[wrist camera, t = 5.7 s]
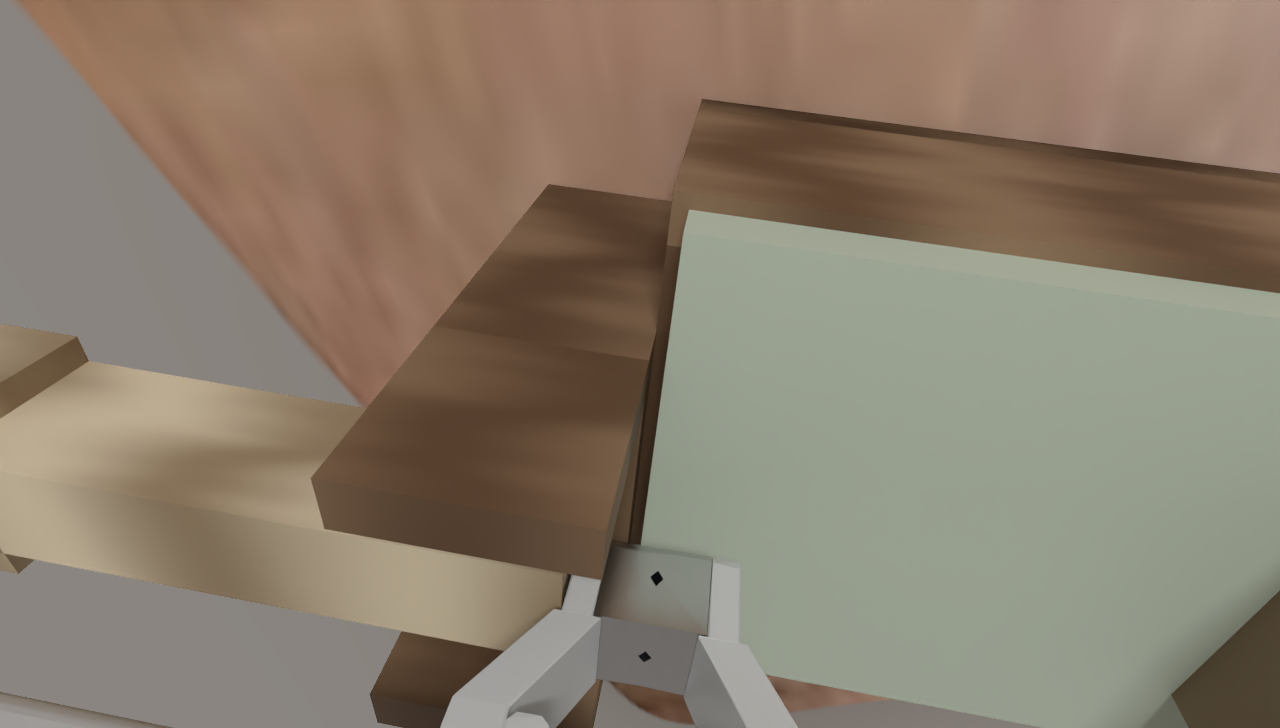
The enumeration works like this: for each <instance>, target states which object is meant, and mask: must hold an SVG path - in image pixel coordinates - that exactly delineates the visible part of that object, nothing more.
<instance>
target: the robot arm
mask: <svg viewBox="0 0 1280 728" xmlns="http://www.w3.org/2000/svg"><path fill="white" fill-rule="evenodd" d="M740 599H741V566H740V563H739V562H737V561H731V560H725V559H720V558H714V557H712V558H711V556H706V555H699V554H693V553H687V552H681V551H675V550H669V549H662V548H659V549H657V548H652V547H647V546H643V545H638V544H633V543H628V542H623V541H618V540H613V539H612V541H611V545H610V549H609V553H608V557H607V562H606V566H605V570H604V574H603V579H602V580H598V579H592V578H587V577H581V576H576V575H571V578H570V582H569V585H568V589H567V592H566V596H565V599H564V603H563V606H562V610H559V609H553V610H552V611H550V612H549V613H548V614H547V615H546V616H545V617H543V618H542V619H541V620H540V621H539V622H538V623H537V624H535V625H534V626H533V627H532V628H531V629H530V630H528V631H527V632H526V633H525V634H524V635H523V636H521V637H520V638H519V639H518V640H517V641H516V642H514V643H513V644H512V645H511V646H510V647H509V648H508V649H506V650H505V651H504V652H503V653H502V654H501V655H499V656H498V657H497V658H496V659H495V660H494V661H492V662H491V663H490V664H489V665H488V666H487V667H486V668H484V669H483V670H482V671H481V672H480V673H479V674H477V675H476V676H475V677H474V678H473V679H472V680H470V681H469V682H468V683H467V684H466V685H465V686H464V687H462V688H461V689H460V690H459V691H458V692H457V693H455V694H454V695H453V696H452V699H451V701H450V704H449V706H448V709H447V711H446V714H445V716H444V719H443V721H442V724H441V726H440V728H556V727H557V726H558V725H559V724H560V722H561V721H562V720H563V719H564V718H565V717H566V715H567V714H568V713H569V712H570V711H571V710H572V709H573V707H574V706H575V705H576V704H577V703H578V702H579V700H580V699H581V698H582V697H583V696H584V695H585V694H586V692H587V691H588V690H589V689H590V688H591V687H592V685H593V684H594V683H595V682H596V679H600V680H607V681H613V682H619V683H625V684H631V685H637V686H642V687H647V688H651V689H656V690H661V691H665V692H670V693H674V694H679V695H683V696H684V700H685V702H686V705H687V707H688V710H689V712H690V714H691V717H692V719H693V722H694V724H695V727H696V728H798V727H797V725H796V724H795V722H794V720H793V719H792V717H791V715H790V714H789V712H788V710H787V709H786V707H785V705H784V704H783V702H782V700H781V699H780V697H779V695H778V694H777V692H776V690H775V689H774V687H773V685H772V684H771V682H770V680H769V679H768V677H767V675H766V674H765V672H764V670H763V669H762V667H761V666H760V664H759V662H758V661H757V659H756V657H755V656H754V654H753V652H752V651H751V649H750V647H749V646H748V645H747V644H743V643H740ZM0 728H171V727H167V726H162V725H157V724H152V723H148V722H143V721H138V720H133V719H128V718H123V717H119V716H114V715H109V714H104V713H99V712H94V711H89V710H84V709H80V708H74V707H70V706H65V705H60V704H55V703H51V702H46V701H41V700H36V699H32V698H27V697H22V696H17V695H12V694H7V693H3V692H0Z"/></svg>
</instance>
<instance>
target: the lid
mask: <svg viewBox="0 0 1280 728" xmlns="http://www.w3.org/2000/svg"><path fill="white" fill-rule="evenodd" d="M641 545H643V546H647V547H652V548H657V549H659V548H662V549H669V550H675V551H681V552H687V553H693V554H699V555H706V556H711V558H712V557H714V558H720V559H725V560H731V561H737V562H739V563H740V566H741V599H740V643H743V644H747V645H748V646H749V647H750V649H751V651H752V652H753V654H754V656H755V657H756V659H757V661H758V662H759V664H760V666H761V667H762V669H763V670H764V672H765V674H766V675H771V676H776V677H781V678H786V679H791V680H797V681H802V682H807V683H812V684H817V685H823V686H828V687H833V688H838V689H843V690H849V691H854V692H859V693H864V694H870V695H875V696H880V697H885V698H890V699H896V700H901V701H906V702H911V703H917V704H922V705H927V706H932V707H937V708H943V709H948V710H953V711H959V712H964V713H969V714H974V715H979V716H984V717H989V718H995V719H1000V720H1006V721H1010V722H1015V723H1021V724H1026V725H1031V726H1036V727H1041V728H1280V293H1274V292H1266V291H1259V290H1252V289H1245V288H1238V287H1231V286H1224V285H1217V284H1210V283H1203V282H1196V281H1189V280H1182V279H1175V278H1168V277H1161V276H1154V275H1147V274H1140V273H1133V272H1126V271H1119V270H1112V269H1104V268H1097V267H1090V266H1083V265H1076V264H1069V263H1062V262H1055V261H1048V260H1041V259H1034V258H1027V257H1020V256H1013V255H1006V254H999V253H992V252H985V251H978V250H971V249H964V248H957V247H949V246H942V245H935V244H928V243H921V242H914V241H907V240H900V239H893V238H886V237H879V236H872V235H865V234H858V233H851V232H844V231H837V230H830V229H823V228H816V227H809V226H802V225H795V224H787V223H780V222H773V221H766V220H759V219H752V218H745V217H738V216H731V215H724V214H717V213H710V212H703V211H696V210H689V212H688V216H687V220H686V224H685V228H684V233H683V240H682V247H681V254H680V262H679V269H678V276H677V284H676V291H675V298H674V306H673V313H672V320H671V327H670V335H669V342H668V349H667V357H666V364H665V371H664V378H663V386H662V393H661V400H660V408H659V415H658V422H657V430H656V437H655V444H654V451H653V459H652V466H651V473H650V481H649V488H648V495H647V503H646V510H645V517H644V524H643V532H642V539H641Z"/></svg>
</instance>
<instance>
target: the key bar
mask: <svg viewBox="0 0 1280 728" xmlns="http://www.w3.org/2000/svg"><path fill="white" fill-rule="evenodd" d="M366 409H367V408H361V407H355V406H349V405H343V404H337V403H332V402H326V401H320V400H314V399H308V398H302V397H296V396H290V395H285V394H279V393H273V392H267V391H260V390H255V389H249V388H243V387H238V386H231V385H226V384H220V383H213V382H208V381H202V380H196V379H190V378H185V377H179V376H173V375H167V374H161V373H155V372H149V371H144V370H137V369H131V368H126V367H120V366H114V365H108V364H102V363H96V362H90V361H89V360H88V358H87V356H86V354H85V352H84V350H83V348H82V346H81V344H80V342H79V340H78V338H77V337H76V336H71V335H64V334H59V333H53V332H47V331H41V330H35V329H29V328H23V327H17V326H11V325H5V324H3V325H2V326H0V570H2V571H7V572H12V573H17V574H19V573H20V572H21V571H22V570H23V569H24V568H26V567H27V566H28V565H29V564H30V563H31V562H32V561H34V560H40V561H45V562H50V563H55V564H60V565H66V566H71V567H76V568H81V569H86V570H92V571H97V572H101V573H107V574H112V575H117V576H122V577H128V578H132V579H138V580H142V581H148V582H153V583H158V584H163V585H169V586H174V587H178V588H183V589H189V590H194V591H199V592H204V593H209V594H215V595H220V596H225V597H230V598H235V599H240V600H245V601H250V602H255V603H260V604H266V605H271V606H276V607H281V608H286V609H292V610H296V611H302V612H307V613H312V614H317V615H322V616H327V617H332V618H338V619H342V620H348V621H353V622H358V623H363V624H368V625H373V626H379V627H384V628H389V629H394V630H399V631H404V632H409V633H414V634H419V635H425V636H430V637H435V638H440V639H445V640H450V641H455V642H460V643H466V644H471V645H476V646H481V647H486V648H491V649H496V650H502V651H505V650H506V649H508V648H509V647H510V646H511V645H512V644H513V643H514V642H516V641H517V640H518V639H519V638H520V637H521V636H523V635H524V634H525V633H526V632H527V631H528V630H530V629H531V628H532V627H533V626H534V625H535V624H537V623H538V622H539V621H540V620H541V619H542V618H543V617H545V616H546V615H547V614H548V613H549V612H550V611H552V610H553V609H559V610H562V606H563V603H564V599H565V596H566V592H567V589H568V585H569V582H570V578H571V575H570V574H565V573H560V572H554V571H549V570H543V569H538V568H533V567H527V566H522V565H516V564H511V563H506V562H500V561H495V560H489V559H484V558H479V557H473V556H468V555H462V554H457V553H452V552H446V551H441V550H435V549H430V548H424V547H419V546H414V545H408V544H403V543H397V542H392V541H387V540H381V539H376V538H370V537H365V536H360V535H354V534H349V533H343V532H338V531H333V530H327V529H324V525H323V522H322V518H321V514H320V511H319V507H318V503H317V500H316V496H315V493H314V489H313V485H312V482H311V477H312V476H313V474H314V473H315V472H316V471H317V470H318V468H319V467H320V466H321V465H322V463H323V462H324V461H325V460H326V458H327V457H328V456H329V455H330V454H331V452H332V451H333V450H334V449H335V447H336V446H337V445H338V444H339V442H340V441H341V440H342V439H343V437H344V436H345V435H346V434H347V433H348V431H349V430H350V429H351V428H352V426H353V425H354V424H355V423H356V421H357V420H358V419H359V418H360V417H361V415H362V414H363V413H364V412H365V410H366Z"/></svg>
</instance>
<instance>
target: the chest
mask: <svg viewBox="0 0 1280 728" xmlns="http://www.w3.org/2000/svg"><path fill="white" fill-rule="evenodd" d="M689 210H696V211H703V212H710V213H717V214H724V215H731V216H738V217H745V218H752V219H759V220H766V221H773V222H780V223H787V224H795V225H802V226H809V227H816V228H823V229H830V230H837V231H844V232H851V233H858V234H865V235H872V236H879V237H886V238H893V239H900V240H907V241H914V242H921V243H928V244H935V245H942V246H949V247H957V248H964V249H971V250H978V251H985V252H992V253H999V254H1006V255H1013V256H1020V257H1027V258H1034V259H1041V260H1048V261H1055V262H1062V263H1069V264H1076V265H1083V266H1090V267H1097V268H1104V269H1112V270H1119V271H1126V272H1133V273H1140V274H1147V275H1154V276H1161V277H1168V278H1175V279H1182V280H1189V281H1196V282H1203V283H1210V284H1217V285H1224V286H1231V287H1238V288H1245V289H1252V290H1259V291H1266V292H1274V293H1280V174H1277V173H1269V172H1262V171H1254V170H1246V169H1239V168H1231V167H1223V166H1215V165H1208V164H1200V163H1192V162H1184V161H1177V160H1169V159H1161V158H1154V157H1146V156H1138V155H1130V154H1123V153H1115V152H1107V151H1100V150H1092V149H1084V148H1076V147H1069V146H1061V145H1053V144H1046V143H1038V142H1030V141H1022V140H1015V139H1007V138H999V137H991V136H984V135H976V134H968V133H961V132H953V131H945V130H937V129H930V128H922V127H914V126H907V125H899V124H891V123H883V122H876V121H868V120H860V119H852V118H845V117H837V116H829V115H822V114H814V113H806V112H798V111H791V110H783V109H775V108H768V107H760V106H752V105H744V104H737V103H729V102H721V101H713V100H706V99H702V102H701V105H700V108H699V111H698V115H697V118H696V121H695V124H694V127H693V130H692V133H691V137H690V140H689V143H688V146H687V149H686V152H685V156H684V159H683V162H682V165H681V168H680V171H679V174H678V178H677V181H676V184H675V187H674V191H673V199H672V202H670V201H662V200H655V199H648V198H641V197H634V196H627V195H620V194H613V193H606V192H599V191H592V190H585V189H578V188H571V187H563V186H556V185H548V186H547V187H546V188H545V190H544V191H543V192H542V193H541V195H540V196H539V197H538V198H537V199H536V201H535V202H534V203H533V204H532V206H531V207H530V208H529V209H528V211H527V212H526V213H525V214H524V215H523V217H522V218H521V219H520V220H519V222H518V223H517V224H516V225H515V227H514V228H513V229H512V230H511V232H510V233H509V234H508V235H507V236H506V238H505V239H504V240H503V241H502V243H501V244H500V245H499V246H498V248H497V249H496V250H495V251H494V252H493V254H492V255H491V256H490V257H489V259H488V260H487V261H486V262H485V264H484V265H483V266H482V267H481V269H480V270H479V271H478V272H477V273H476V275H475V276H474V277H473V278H472V280H471V281H470V282H469V283H468V285H467V286H466V287H465V288H464V289H463V291H462V292H461V293H460V294H459V296H458V297H457V298H456V299H455V301H454V302H453V303H452V304H451V306H450V307H449V308H448V309H447V310H446V312H445V313H444V314H443V315H442V317H441V318H440V319H439V320H438V322H437V323H436V324H435V325H434V326H433V328H432V329H431V330H430V331H429V333H428V334H427V335H426V336H425V338H424V339H423V340H422V341H421V343H420V344H419V345H418V346H417V347H416V349H415V350H414V351H413V352H412V354H411V355H410V356H409V357H408V359H407V360H406V361H405V362H404V363H403V365H402V366H401V367H400V368H399V370H398V371H397V372H396V373H395V375H394V376H393V377H392V378H391V380H390V381H389V382H388V383H387V384H386V386H385V387H384V388H383V389H382V391H381V392H380V393H379V394H378V396H377V397H376V398H375V399H374V400H373V402H372V403H371V404H370V405H369V407H368V408H367V409H366V410H365V412H364V413H363V414H362V415H361V417H360V418H359V419H358V420H357V421H356V423H355V424H354V425H353V426H352V428H351V429H350V430H349V431H348V433H347V434H346V435H345V436H344V437H343V439H342V440H341V441H340V442H339V444H338V445H337V446H336V447H335V449H334V450H333V451H332V452H331V454H330V455H329V456H328V457H327V458H326V460H325V461H324V462H323V463H322V465H321V466H320V467H319V468H318V470H317V471H316V472H315V473H314V474H313V476H312V477H311V482H312V485H313V489H314V493H315V496H316V500H317V503H318V507H319V511H320V514H321V518H322V522H323V525H324V529H327V530H333V531H338V532H343V533H349V534H354V535H360V536H365V537H370V538H376V539H381V540H387V541H392V542H397V543H403V544H408V545H414V546H419V547H424V548H430V549H435V550H441V551H446V552H452V553H457V554H462V555H468V556H473V557H479V558H484V559H489V560H495V561H500V562H506V563H511V564H516V565H522V566H527V567H533V568H538V569H543V570H549V571H554V572H560V573H565V574H570V575H576V576H581V577H587V578H592V579H598V580H602V579H603V574H604V570H605V566H606V562H607V557H608V553H609V549H610V545H611V541H612V539H613V540H618V541H623V542H628V543H633V544H638V545H641V539H642V532H643V524H644V517H645V510H646V503H647V495H648V488H649V481H650V473H651V466H652V459H653V451H654V444H655V437H656V430H657V422H658V415H659V408H660V400H661V393H662V386H663V378H664V371H665V364H666V357H667V349H668V342H669V335H670V327H671V320H672V313H673V306H674V298H675V291H676V284H677V276H678V269H679V262H680V254H681V247H682V240H683V233H684V228H685V224H686V220H687V216H688V212H689ZM503 652H504V651H502V650H496V649H491V648H486V647H481V646H476V645H471V644H466V643H460V642H455V641H450V640H445V639H440V638H435V637H430V636H425V635H419V634H414V633H409V632H404V631H402V632H401V634H400V636H399V638H398V640H397V642H396V644H395V646H394V648H393V650H392V652H391V654H390V655H389V657H388V659H387V662H386V664H385V665H384V667H383V669H382V671H381V673H380V675H379V677H378V680H377V681H376V683H375V685H374V687H373V689H372V691H371V693H370V696H371V700H372V704H373V707H374V710H375V714H376V718H377V722H378V723H383V724H388V725H393V726H398V727H403V728H440V726H441V724H442V721H443V719H444V716H445V714H446V711H447V709H448V706H449V704H450V701H451V699H452V696H453V695H454V694H455V693H457V692H458V691H459V690H460V689H461V688H462V687H464V686H465V685H466V684H467V683H468V682H469V681H470V680H472V679H473V678H474V677H475V676H476V675H477V674H479V673H480V672H481V671H482V670H483V669H484V668H486V667H487V666H488V665H489V664H490V663H491V662H492V661H494V660H495V659H496V658H497V657H498V656H499V655H501V654H502V653H503ZM602 682H603V680H600V679H596V682H595V683H594V684H593V685H592V687H591V688H590V689H589V690H588V691H587V692H586V694H585V695H584V696H583V697H582V698H581V699H580V700H579V702H578V703H577V704H576V705H575V706H574V707H573V709H572V710H571V711H570V712H569V713H568V714H567V715H566V717H565V718H564V719H563V720H562V721H561V722H560V724H559V725H558V726H557V727H556V728H593V726H594V721H595V716H596V711H597V706H598V701H599V696H600V691H601V686H602Z"/></svg>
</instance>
